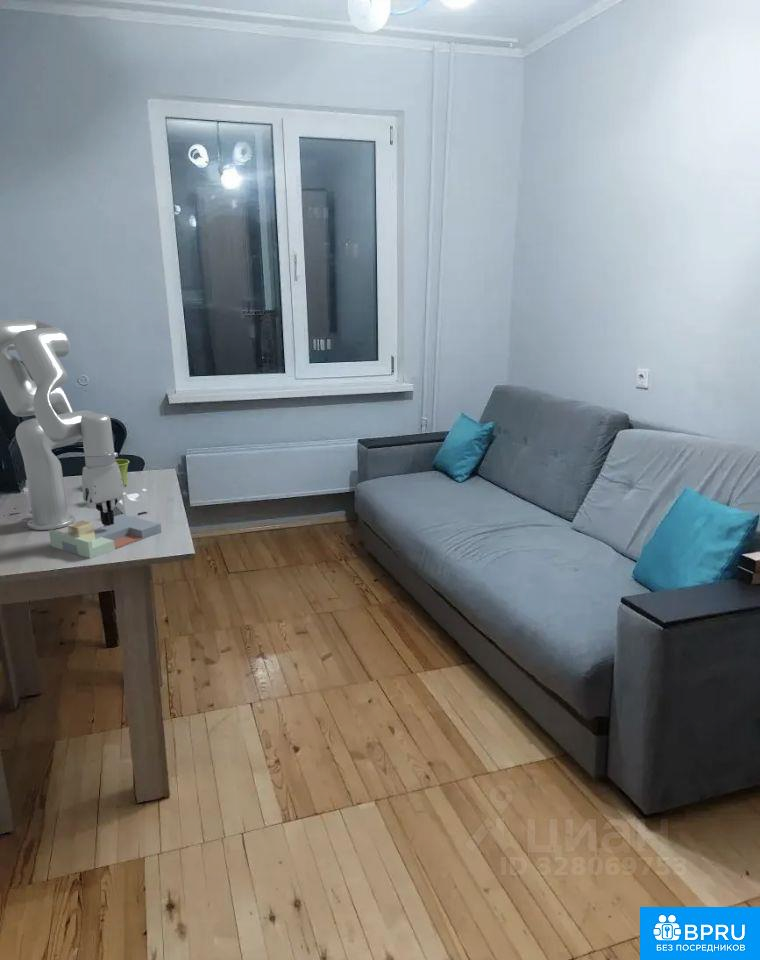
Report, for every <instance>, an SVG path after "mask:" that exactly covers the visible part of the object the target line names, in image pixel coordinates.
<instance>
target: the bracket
mask: <svg viewBox="0 0 760 960" xmlns="http://www.w3.org/2000/svg"><path fill="white" fill-rule="evenodd" d="M148 496H149V495H148V490H147V489H146V488H141V493H140V494H139V493H137V492H134V493H129V494H127V493H126V492H125V491H124V493H123V499H122V500H120V501H118V502H117V504H116V505H115V508H116V507H117V508H118V509H119V510H120V511H121V512H122V513H123V514H124V515H128V516H132V517H134V516H133V515H137V516H138V515H139V514H140V513H141V514H142V513H146V512H150V506H149V505H150V504H149V497H148ZM117 508H116V509H117ZM118 509H117V510H118ZM119 510H118V511H119ZM120 511H119V512H120ZM121 512H120V513H121ZM122 513H121V514H122Z"/></svg>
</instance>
